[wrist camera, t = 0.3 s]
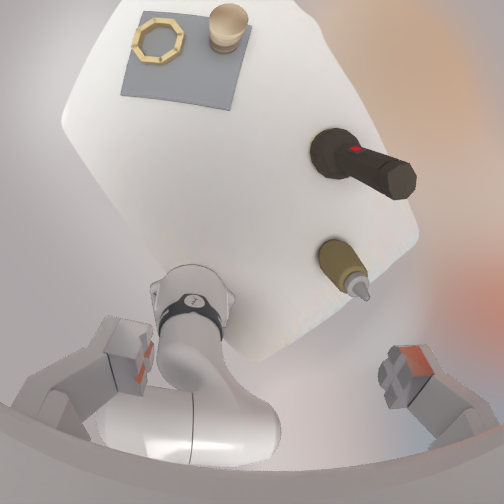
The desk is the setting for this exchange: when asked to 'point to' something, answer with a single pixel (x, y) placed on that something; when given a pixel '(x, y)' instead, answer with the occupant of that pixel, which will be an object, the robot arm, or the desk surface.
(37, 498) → the robot arm
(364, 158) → the flashlight
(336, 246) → the squeeze bottle
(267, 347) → the desk surface
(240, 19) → the ash peg
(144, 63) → the socket board
